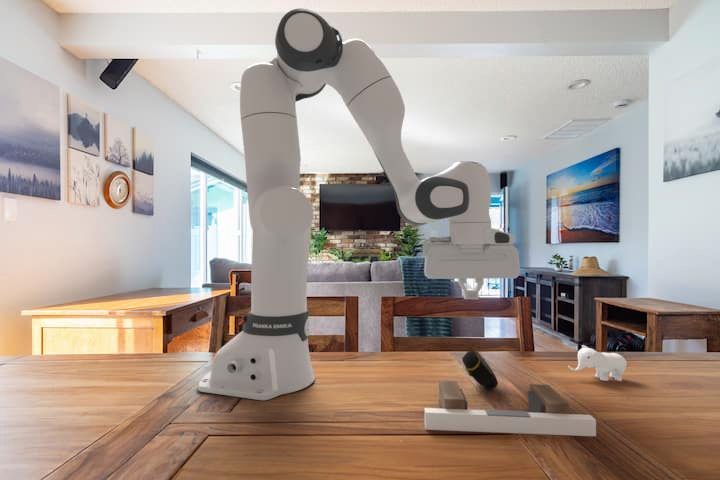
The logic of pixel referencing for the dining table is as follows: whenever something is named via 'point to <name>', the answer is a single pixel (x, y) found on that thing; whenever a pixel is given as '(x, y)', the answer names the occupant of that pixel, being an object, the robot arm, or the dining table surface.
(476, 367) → the tape measure
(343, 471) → the dining table surface
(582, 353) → the elephant figurine
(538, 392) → the rail
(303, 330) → the robot arm
